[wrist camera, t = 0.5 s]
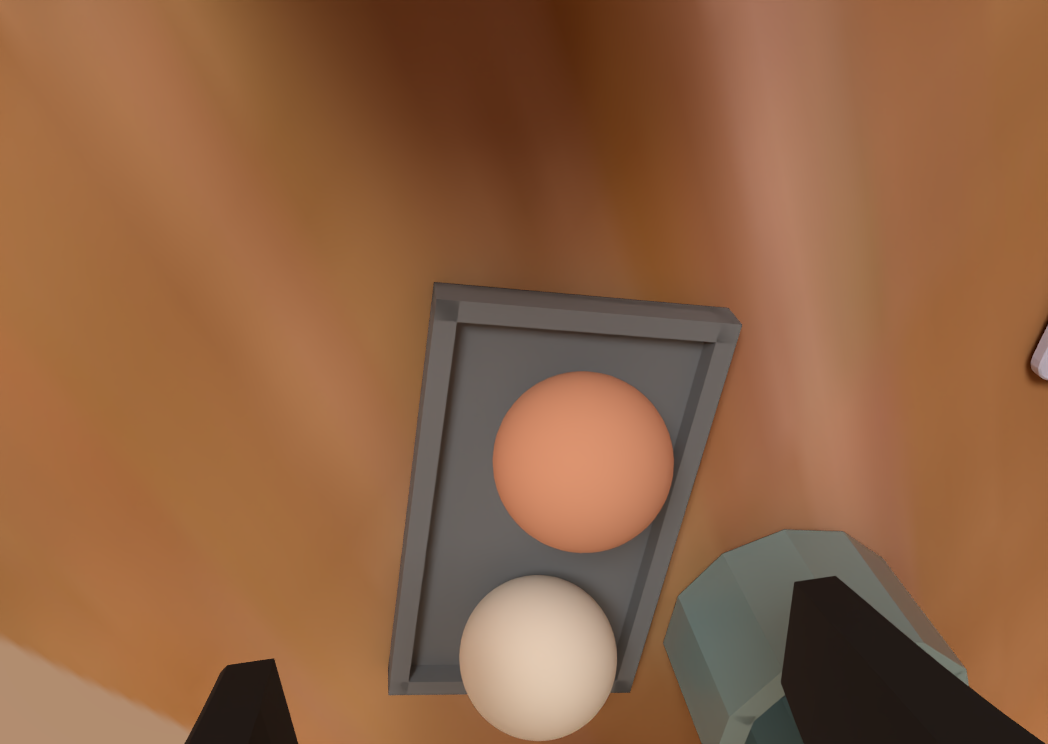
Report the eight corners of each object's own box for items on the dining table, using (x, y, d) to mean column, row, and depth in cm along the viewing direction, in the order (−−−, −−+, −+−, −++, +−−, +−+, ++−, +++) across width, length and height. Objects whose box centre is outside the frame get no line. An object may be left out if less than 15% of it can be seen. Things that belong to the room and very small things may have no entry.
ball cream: (610, 544, 23) (652, 659, 20) (582, 651, 25) (615, 774, 22) (462, 540, 22) (478, 660, 19) (445, 652, 24) (457, 779, 21)
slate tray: (728, 307, 21) (742, 324, 20) (622, 668, 26) (629, 692, 25) (433, 282, 19) (436, 299, 18) (388, 669, 25) (388, 695, 24)
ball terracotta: (662, 346, 20) (721, 440, 17) (626, 484, 22) (672, 593, 19) (496, 334, 20) (522, 429, 16) (473, 477, 21) (491, 591, 18)
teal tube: (921, 533, 25) (1012, 642, 22) (843, 699, 28) (912, 817, 25) (700, 527, 24) (758, 642, 20) (644, 701, 27) (686, 828, 23)
